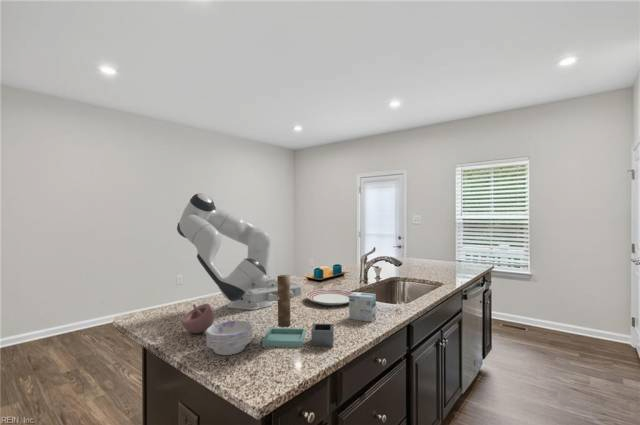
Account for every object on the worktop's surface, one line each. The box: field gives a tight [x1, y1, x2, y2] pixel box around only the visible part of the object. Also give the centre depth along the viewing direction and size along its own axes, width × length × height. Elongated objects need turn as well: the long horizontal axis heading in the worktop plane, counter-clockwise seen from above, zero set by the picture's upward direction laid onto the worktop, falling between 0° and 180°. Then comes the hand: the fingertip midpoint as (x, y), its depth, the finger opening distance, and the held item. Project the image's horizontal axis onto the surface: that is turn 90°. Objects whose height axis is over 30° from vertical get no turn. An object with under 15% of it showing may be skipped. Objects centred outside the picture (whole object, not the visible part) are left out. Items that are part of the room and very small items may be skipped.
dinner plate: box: [305, 288, 353, 307], centre depth 168 cm, size 28×27×3 cm
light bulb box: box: [348, 291, 377, 323], centre depth 139 cm, size 11×7×11 cm, turn 65°
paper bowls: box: [205, 320, 253, 356], centre depth 109 cm, size 15×15×8 cm
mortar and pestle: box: [181, 303, 215, 334], centre depth 125 cm, size 12×12×12 cm
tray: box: [261, 327, 307, 348], centre depth 116 cm, size 14×12×2 cm
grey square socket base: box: [310, 322, 335, 348], centre depth 113 cm, size 8×8×6 cm
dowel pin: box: [277, 274, 291, 328], centre depth 115 cm, size 4×4×18 cm
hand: (285, 297), depth 115 cm, fingers closed on dowel pin, 4 cm apart
